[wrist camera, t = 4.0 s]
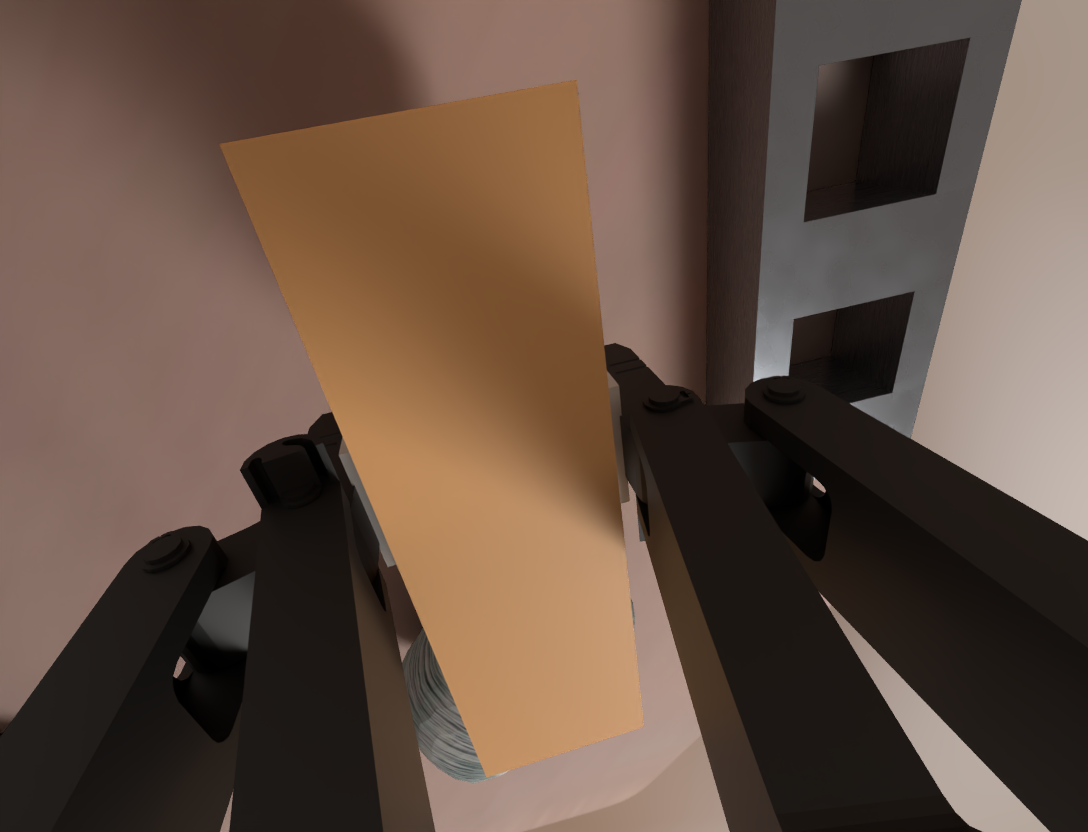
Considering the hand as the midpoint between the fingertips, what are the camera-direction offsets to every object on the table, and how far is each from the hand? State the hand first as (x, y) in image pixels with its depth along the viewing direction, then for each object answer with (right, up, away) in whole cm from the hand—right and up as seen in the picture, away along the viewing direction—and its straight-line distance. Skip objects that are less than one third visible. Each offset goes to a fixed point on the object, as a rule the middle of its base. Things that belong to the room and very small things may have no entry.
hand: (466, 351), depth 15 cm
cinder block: (+13, +6, +7) cm, 16 cm away
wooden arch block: (-1, +2, +3) cm, 4 cm away
